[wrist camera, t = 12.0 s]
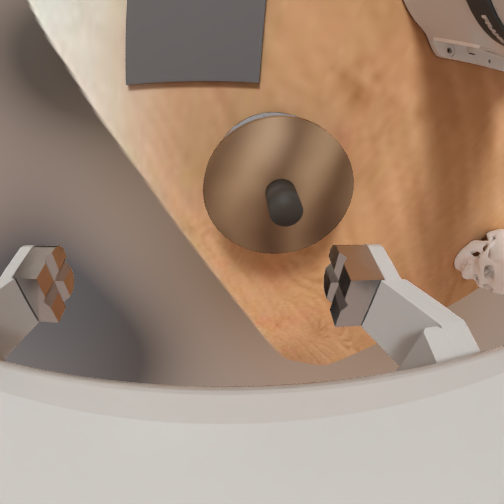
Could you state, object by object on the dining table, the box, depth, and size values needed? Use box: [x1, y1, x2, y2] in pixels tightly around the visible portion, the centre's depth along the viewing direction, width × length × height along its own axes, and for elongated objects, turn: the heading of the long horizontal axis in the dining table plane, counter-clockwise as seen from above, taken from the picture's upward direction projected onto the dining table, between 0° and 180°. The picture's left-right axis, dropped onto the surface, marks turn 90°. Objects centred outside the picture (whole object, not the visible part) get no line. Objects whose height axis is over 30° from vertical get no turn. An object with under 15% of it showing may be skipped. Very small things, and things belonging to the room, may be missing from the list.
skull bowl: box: [454, 229, 504, 295], centre depth 46 cm, size 10×14×12 cm
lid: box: [203, 115, 354, 254], centre depth 31 cm, size 16×16×5 cm
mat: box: [126, 0, 266, 85], centre depth 26 cm, size 15×15×1 cm
